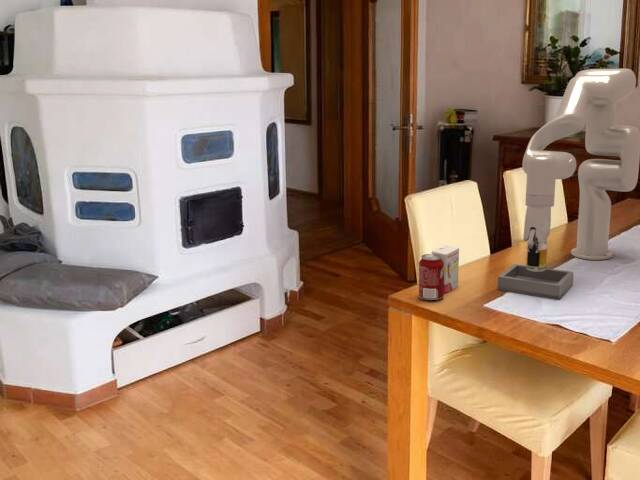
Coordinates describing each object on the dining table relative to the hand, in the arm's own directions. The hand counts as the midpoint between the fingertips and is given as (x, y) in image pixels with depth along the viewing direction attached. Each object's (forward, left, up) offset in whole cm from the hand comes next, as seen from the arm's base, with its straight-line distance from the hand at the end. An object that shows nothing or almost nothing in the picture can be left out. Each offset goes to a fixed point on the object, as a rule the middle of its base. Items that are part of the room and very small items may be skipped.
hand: (536, 262), depth 186 cm
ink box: (+13, -22, -8) cm, 27 cm away
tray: (0, 0, -7) cm, 7 cm away
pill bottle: (0, 0, -2) cm, 2 cm away
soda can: (+22, -22, -8) cm, 32 cm away
